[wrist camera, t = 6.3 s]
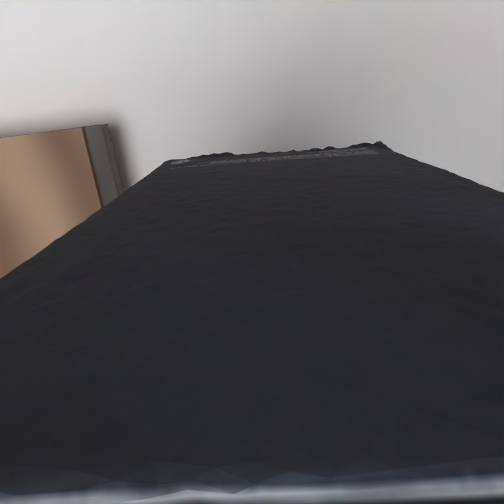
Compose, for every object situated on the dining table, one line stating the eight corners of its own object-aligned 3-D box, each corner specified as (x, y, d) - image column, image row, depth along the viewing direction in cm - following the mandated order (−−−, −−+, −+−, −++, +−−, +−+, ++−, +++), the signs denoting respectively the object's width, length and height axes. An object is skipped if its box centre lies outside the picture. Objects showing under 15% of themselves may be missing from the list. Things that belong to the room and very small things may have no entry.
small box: (145, 155, 11) (-596, 529, 1) (388, 138, 11) (1493, 399, 1) (190, 462, 15) (76, 1196, 5) (376, 451, 15) (648, 1171, 5)
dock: (119, 122, 28) (98, 125, 24) (158, 300, 32) (145, 326, 28) (-99, 151, 28) (-153, 158, 25) (-33, 321, 33) (-70, 350, 29)
